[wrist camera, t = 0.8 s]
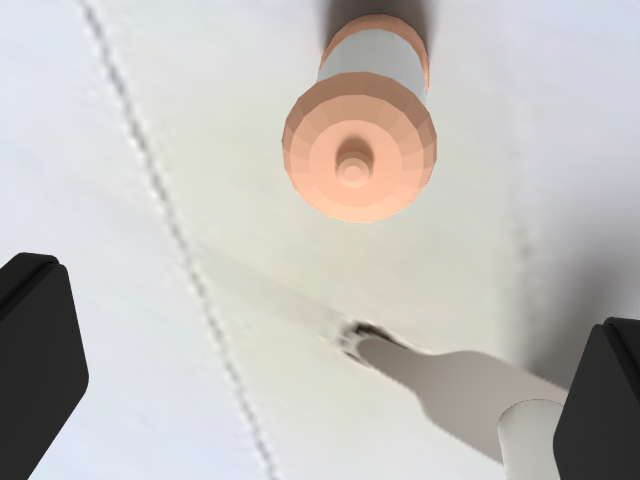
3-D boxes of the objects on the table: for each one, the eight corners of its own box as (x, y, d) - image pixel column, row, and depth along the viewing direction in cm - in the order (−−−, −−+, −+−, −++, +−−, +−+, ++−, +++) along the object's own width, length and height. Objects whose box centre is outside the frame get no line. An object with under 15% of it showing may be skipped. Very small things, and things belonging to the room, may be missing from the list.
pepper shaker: (419, 124, 42) (426, 260, 25) (320, 112, 42) (264, 238, 26) (436, 18, 38) (459, 96, 21) (328, 8, 38) (269, 75, 22)
